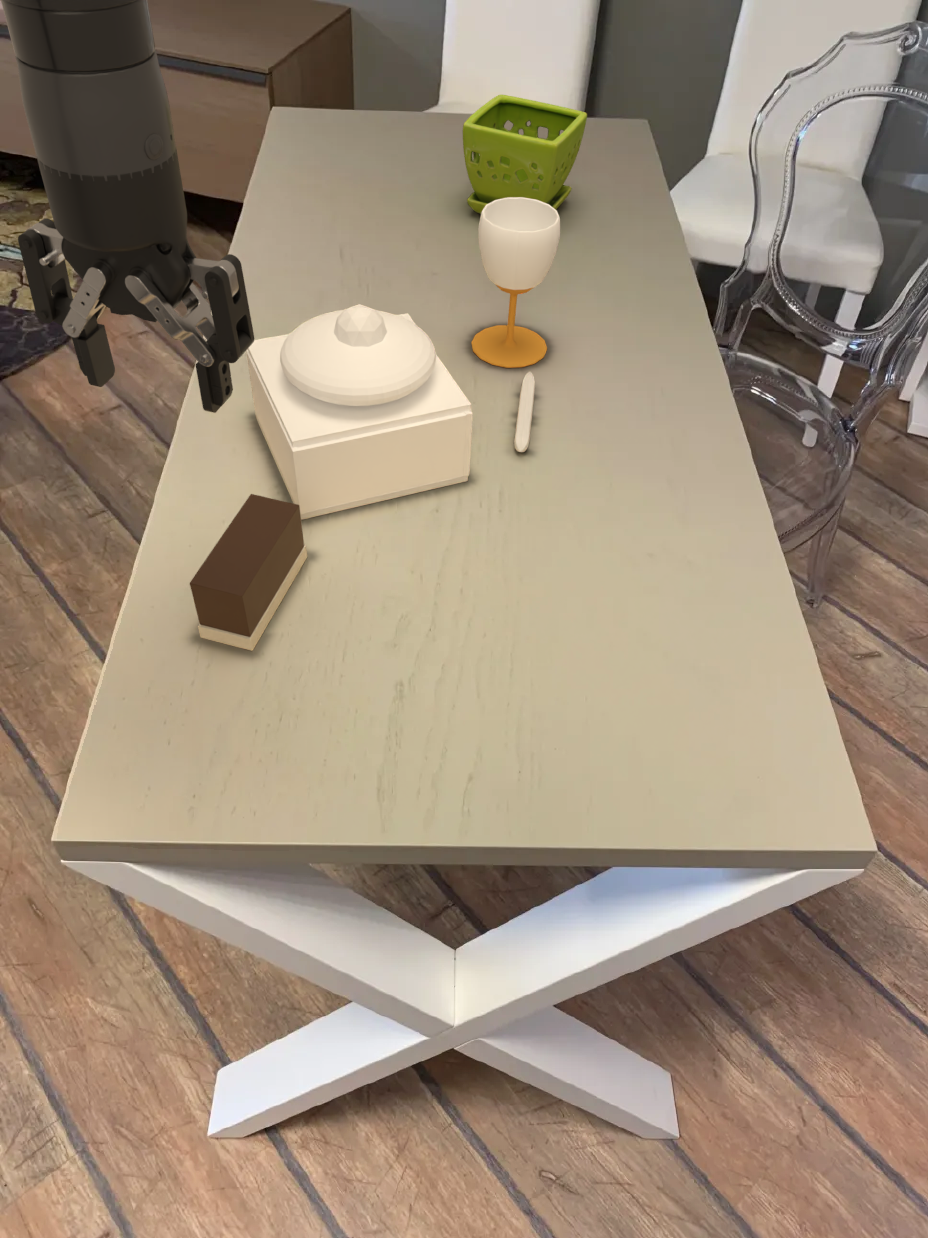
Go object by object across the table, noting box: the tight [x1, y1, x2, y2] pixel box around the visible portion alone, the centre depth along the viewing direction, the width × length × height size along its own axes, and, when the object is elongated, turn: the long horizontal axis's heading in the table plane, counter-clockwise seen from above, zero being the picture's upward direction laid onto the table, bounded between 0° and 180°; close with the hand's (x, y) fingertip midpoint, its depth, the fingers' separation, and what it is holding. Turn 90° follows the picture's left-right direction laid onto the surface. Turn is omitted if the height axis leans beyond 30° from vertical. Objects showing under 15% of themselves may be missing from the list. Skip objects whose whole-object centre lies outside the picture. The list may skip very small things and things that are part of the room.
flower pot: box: [462, 94, 588, 215], centre depth 133 cm, size 14×14×13 cm
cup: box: [470, 197, 561, 369], centre depth 106 cm, size 9×9×16 cm
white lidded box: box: [245, 303, 474, 521], centre depth 93 cm, size 18×18×16 cm
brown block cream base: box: [189, 493, 308, 651], centre depth 81 cm, size 12×5×6 cm, turn 164°
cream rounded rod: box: [513, 371, 536, 453], centre depth 103 cm, size 2×14×2 cm, turn 173°
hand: (158, 392), depth 64 cm, fingers open, 8 cm apart
